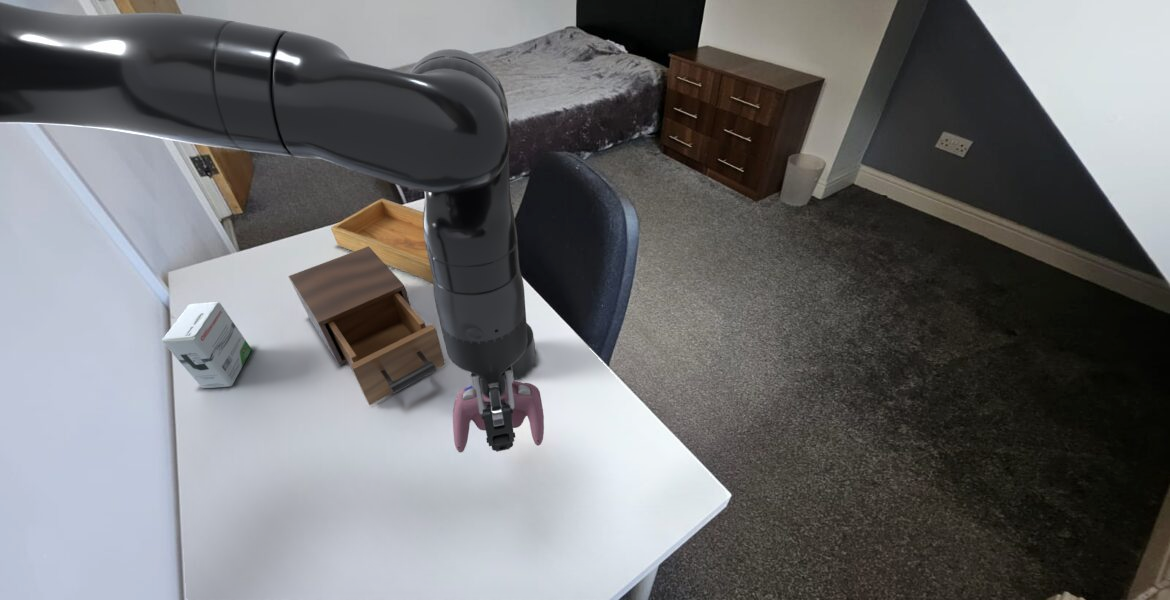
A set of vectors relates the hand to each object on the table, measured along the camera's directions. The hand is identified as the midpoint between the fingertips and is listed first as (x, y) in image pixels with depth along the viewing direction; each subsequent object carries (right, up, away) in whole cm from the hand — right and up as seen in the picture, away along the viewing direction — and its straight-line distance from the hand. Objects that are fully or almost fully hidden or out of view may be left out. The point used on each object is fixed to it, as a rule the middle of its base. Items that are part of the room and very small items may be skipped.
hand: (499, 420), depth 52 cm
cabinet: (-33, +9, +38) cm, 51 cm away
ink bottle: (-4, +2, +31) cm, 32 cm away
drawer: (-23, +2, +29) cm, 37 cm away
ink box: (-52, +1, +29) cm, 59 cm away
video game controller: (0, -1, +1) cm, 2 cm away
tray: (-31, +25, +56) cm, 69 cm away
